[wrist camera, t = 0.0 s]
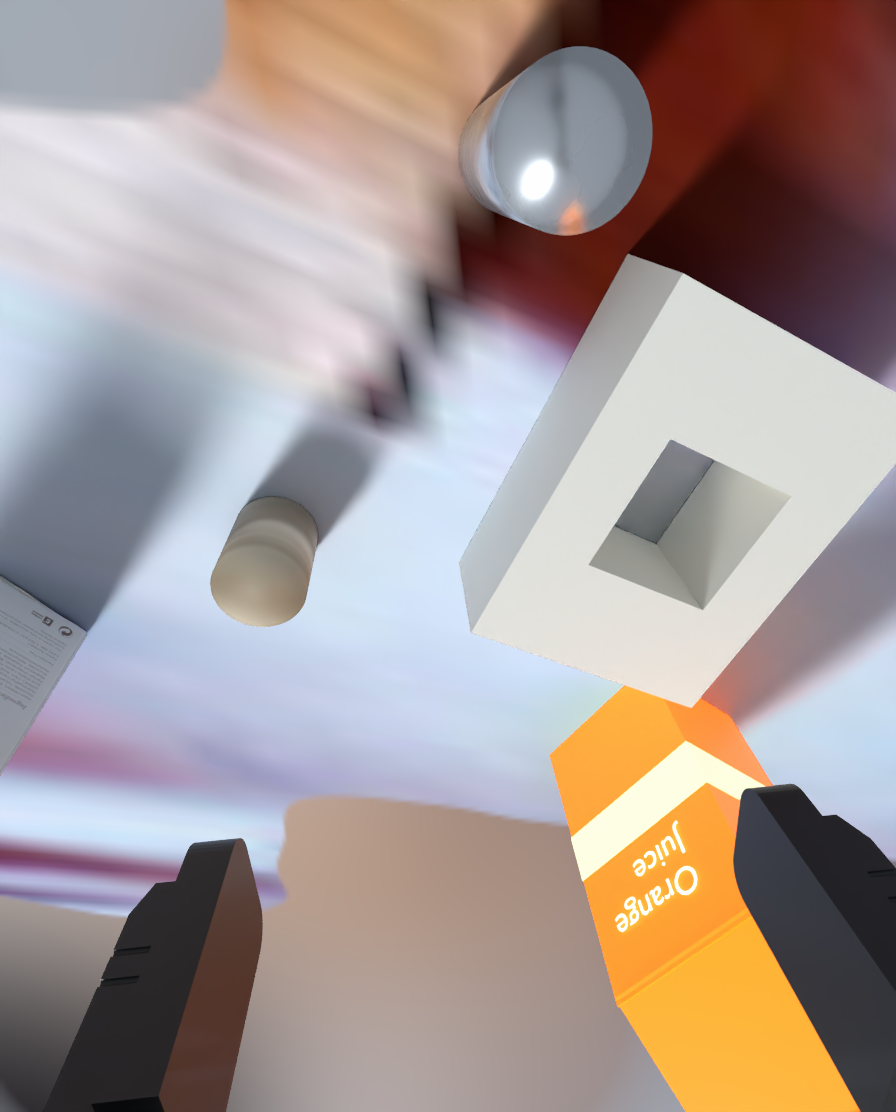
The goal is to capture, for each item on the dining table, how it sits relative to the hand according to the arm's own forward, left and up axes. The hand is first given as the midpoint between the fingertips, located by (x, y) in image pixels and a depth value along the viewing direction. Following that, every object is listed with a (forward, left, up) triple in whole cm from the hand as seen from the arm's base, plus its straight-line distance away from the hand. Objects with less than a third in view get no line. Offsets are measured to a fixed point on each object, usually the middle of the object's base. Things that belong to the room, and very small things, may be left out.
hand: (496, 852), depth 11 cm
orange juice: (+14, +21, -23) cm, 33 cm away
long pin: (-10, -1, -22) cm, 25 cm away
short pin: (+9, -4, -22) cm, 24 cm away
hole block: (-1, +11, -22) cm, 25 cm away
